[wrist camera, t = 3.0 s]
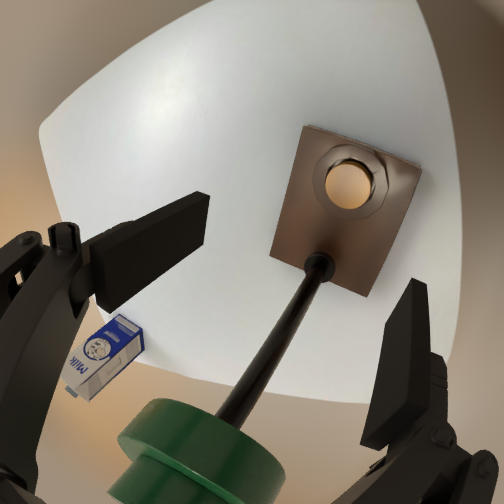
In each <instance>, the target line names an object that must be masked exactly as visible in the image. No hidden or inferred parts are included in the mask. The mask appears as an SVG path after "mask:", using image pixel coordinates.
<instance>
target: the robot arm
mask: <svg viewBox="0 0 504 504" xmlns="http://www.w3.org/2000/svg"><path fill="white" fill-rule="evenodd" d="M209 200H210V195H207V194H204V193H201V192H199V191H196V192H194V193H192V194H189V195H187V196H185V197H183V198H181V199H178V200H176V201H174V202H172V203H170V204H168V205H166V206H164V207H162V208H159V209H157V210H155V211H153V212H151V213H149V214H147V215H145V216H143V217H141V218H139V219H137V220H135V221H133V220H132V221H128V222H123V223H120V224H118V225H116V226H114V227H112V229H108V230H106V231H105V232H104V233H103V232H102V233H100V234H98V235H96V236H95V237H93V238H91V239H89V240H87V241H85V242H83V243H81V239H80V229H79V226H78V225H76V224H75V223H71V222H61V223H57V224H54V225H52V226H51V227H49V228H48V234H49V241H50V246H46V245H43V243H42V237H41V234H40V233H38V232H35V231H26V232H24V233H21V234H19V235H18V236H16V237H15V238H14V239H12V240H11V241H10V242H8V243H7V244H6V245H4V246H3V247H2V248H0V504H46V503H45V502H44V501H43V500H42V499H40V498H38V497H37V496H35V489H36V484H37V479H38V466H37V462H36V449H37V446H38V443H39V438H40V435H41V432H42V428H43V425H44V422H45V418H46V415H47V412H48V409H49V406H50V403H51V400H52V397H53V394H54V391H55V388H56V385H57V382H58V379H59V377H60V374H61V372H62V369H63V366H64V364H65V361H66V359H67V356H68V354H69V351H70V348H71V346H72V344H73V341H74V339H75V337H76V334H77V332H78V329H79V327H80V325H81V323H82V320H83V318H84V316H85V314H86V311H87V309H88V307H89V303H90V302H89V297H90V296H92V295H93V294H94V293H95V297H96V303H97V305H98V306H99V307H101V308H102V309H103V310H105V311H106V312H108V313H109V314H111V313H112V312H113V311H114V310H116V309H117V308H118V307H120V306H121V305H122V304H124V303H125V302H126V301H128V300H129V299H130V298H132V297H133V296H134V295H136V294H137V293H138V292H140V291H141V290H142V289H144V288H145V287H146V286H148V285H149V284H150V283H152V282H153V281H154V280H156V279H157V278H158V277H160V276H161V275H162V274H164V273H165V272H166V271H168V270H169V269H170V268H172V267H173V266H175V265H176V264H177V263H179V262H180V261H181V260H183V259H184V258H185V257H187V256H188V255H190V254H191V253H192V252H194V251H195V250H196V249H198V248H199V247H201V246H202V245H203V243H204V235H205V228H206V221H207V214H208V207H209ZM19 271H20V274H21V278H22V281H23V282H22V283H21V284H19V285H18V284H17V281H16V278H15V275H16V274H17V273H18V272H19ZM447 388H448V383H447V367H446V364H445V362H444V359H443V357H442V356H440V355H438V354H435V353H433V352H431V347H430V321H429V305H428V293H427V284H425V283H423V282H421V281H419V280H416V279H414V278H411V280H410V282H409V284H408V285H407V287H406V289H405V291H404V293H403V294H402V296H401V298H400V300H399V301H398V303H397V305H396V307H395V308H394V310H393V312H392V313H391V315H390V317H389V318H388V320H387V322H386V323H385V328H384V335H383V341H382V347H381V353H380V359H379V364H378V370H377V375H376V380H375V384H374V389H373V394H372V398H371V403H370V407H369V411H368V415H367V419H366V423H365V427H364V431H363V434H362V438H361V441H360V445H362V446H365V447H368V448H371V449H375V450H377V451H380V450H381V449H383V448H384V447H385V446H387V445H388V444H389V445H388V450H387V454H386V456H384V457H383V458H382V459H380V460H379V461H377V462H376V463H374V464H373V465H371V466H370V467H369V468H370V470H369V471H368V472H367V473H366V474H365V475H364V476H363V477H361V478H360V479H359V480H358V481H357V482H356V483H355V484H354V485H353V486H352V487H350V488H349V489H348V490H347V491H346V492H345V493H343V494H342V495H341V496H340V497H339V498H338V499H336V500H335V501H334V502H333V503H331V504H491V501H492V497H493V494H494V490H495V486H496V482H497V478H498V472H499V467H498V462H497V460H496V458H495V456H494V455H493V454H492V453H491V452H490V451H487V450H480V451H478V452H477V453H475V454H474V455H471V454H469V453H468V452H467V451H465V450H463V449H462V448H461V447H459V446H458V445H457V438H456V434H455V431H454V429H453V428H452V426H451V425H450V424H449V423H448V422H447V417H448V415H447V413H448V391H447Z"/></svg>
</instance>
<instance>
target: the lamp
mask: <svg viewBox="0 0 504 504" xmlns="http://www.w3.org/2000/svg"><path fill="white" fill-rule="evenodd" d="M304 271H305V273H306V276H305V278H304V280H303V281H302V283H301V285H300V286H299V288H298V289H297V291H296V293H295V294H294V296H293V298H292V299H291V301H290V303H289V304H288V306H287V307H286V309H285V311H284V312H283V314H282V315H281V317H280V319H279V320H278V322H277V323H276V325H275V326H274V328H273V330H272V331H271V333H270V334H269V336H268V337H267V339H266V340H265V342H264V344H263V345H262V347H261V348H260V350H259V351H258V353H257V354H256V356H255V357H254V359H253V360H252V362H251V363H250V365H249V366H248V368H247V369H246V371H245V372H244V374H243V375H242V377H241V378H240V380H239V381H238V383H237V384H236V386H235V387H234V389H233V390H232V392H231V393H230V395H229V396H228V397H227V399H226V400H225V402H224V403H223V405H222V406H221V407H220V409H219V410H218V412H217V413H216V414H215V416H214V415H212V414H210V413H207V412H205V411H203V410H201V409H199V408H196V407H194V406H191V405H189V404H186V403H183V402H180V401H176V400H172V399H165V398H158V399H153V400H152V401H150V402H149V403H148V404H147V405H146V406H145V407H144V408H143V409H142V411H141V412H140V413H139V414H138V415H137V416H136V417H135V418H134V419H133V420H132V421H131V422H130V424H129V425H128V426H127V427H126V428H125V429H124V430H123V431H122V432H121V433H120V434H119V436H118V437H117V440H118V443H119V445H120V447H121V448H122V450H123V451H124V453H125V454H126V455H127V456H128V457H129V458H130V460H131V461H132V462H133V463H132V464H131V465H130V466H129V467H128V469H127V470H126V471H125V472H124V473H123V474H122V475H121V477H120V478H119V479H118V480H117V481H116V482H115V483H114V484H113V486H112V487H111V488H110V489H109V490H108V491H107V493H108V494H109V495H110V496H111V497H112V498H113V499H115V500H116V501H117V502H119V503H120V504H273V503H274V501H275V499H276V498H277V495H278V494H279V492H280V490H281V488H282V486H283V484H284V482H285V472H284V469H283V467H282V466H281V464H280V463H279V462H278V460H277V459H276V458H275V457H274V456H273V455H272V454H271V453H270V452H268V450H266V449H265V448H264V447H263V446H262V445H260V444H259V443H258V442H256V441H255V440H254V439H252V438H251V437H249V436H247V435H246V434H244V433H243V432H242V431H240V428H241V426H242V425H243V424H244V422H245V420H246V419H247V417H248V415H249V414H250V412H251V410H252V409H253V407H254V406H255V404H256V402H257V400H258V398H259V397H260V395H261V394H262V392H263V390H264V389H265V387H266V385H267V383H268V382H269V380H270V378H271V376H272V375H273V373H274V371H275V369H276V368H277V366H278V364H279V362H280V361H281V359H282V357H283V355H284V353H285V352H286V350H287V348H288V346H289V344H290V342H291V340H292V339H293V337H294V335H295V333H296V331H297V329H298V327H299V325H300V324H301V322H302V320H303V318H304V316H305V314H306V312H307V310H308V308H309V306H310V304H311V302H312V300H313V298H314V296H315V294H316V292H317V290H318V288H319V286H320V284H321V283H325V282H328V281H329V280H331V279H332V277H333V276H334V274H335V271H336V264H335V261H334V260H333V258H332V257H331V256H330V255H328V254H327V253H324V252H314V253H312V254H310V255H309V256H308V258H307V259H306V261H305V263H304Z"/></svg>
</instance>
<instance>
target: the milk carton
mask: <svg viewBox="0 0 504 504" xmlns="http://www.w3.org/2000/svg"><path fill="white" fill-rule="evenodd" d="M143 351H144V341H143V332H142V329H141V328H140V327H138V326H137V325H135V324H134V323H132V322H130V321H129V320H127V319H126V318H124V317H123V316H121V315H120V314H118V315H117V316H116V317H115V318H113V319H112V320H111V321H110V322H108V323H107V324H106V325H104V326H103V327H102V328H101V329H99V330H98V331H97V332H96V333H95V334H93V335H92V336H91V337H89V338H88V339H87V340H86V341H85V342H83V343H82V344H81V345H79V346H78V347H77V348H76V349H75V350H73V351H72V352H71V353H70V354H68V356H67V359H66V361H65V364H64V366H63V369H62V372H61V374H60V378H61V379H62V380H63V381H64V382H65V383H66V384H67V386H66V388H65V389H66V390H67V391H68V392H69V393H70V394H71V395H72V396H74V397H75V398H76V397H77V396H78V395H79V396H81V397H82V398H84V399H85V400H86V401H88V402H90V401H91V400H92V399H93V398H94V397H95V396H96V395H97V394H98V393H99V392H100V391H101V390H102V389H103V388H104V387H106V386H107V385H108V384H109V383H110V382H111V381H112V380H113V379H114V378H115V377H116V376H117V375H118V374H119V373H120V372H121V371H122V370H124V369H125V368H126V367H127V366H128V365H129V364H130V363H131V362H132V361H133V360H134V359H135V358H136V357H137V356H138V355H139V354H140V353H142V352H143Z"/></svg>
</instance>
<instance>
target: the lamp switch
mask: <svg viewBox="0 0 504 504" xmlns="http://www.w3.org/2000/svg"><path fill="white" fill-rule="evenodd" d="M325 187H326V192H327V194H328V196H329V198H330V199H331V201H332V202H333V203H334V204H336V205H337V206H339V207H341V208H345V209H354V208H358V207H360V206H361V205H363V204H364V203H365V202H366V201H367V199H368V197H369V195H370V192H371V188H372V180H371V176H370V174H369V172H368V171H367V169H366V168H365V167H364V166H362V165H361V164H359V163H357V162H353V161H345V162H342V163H340V164H338V165H337V166H335V167H334V168H333V169H332V170H331V171H330V172H329V174H328V176H327V178H326V183H325Z"/></svg>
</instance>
